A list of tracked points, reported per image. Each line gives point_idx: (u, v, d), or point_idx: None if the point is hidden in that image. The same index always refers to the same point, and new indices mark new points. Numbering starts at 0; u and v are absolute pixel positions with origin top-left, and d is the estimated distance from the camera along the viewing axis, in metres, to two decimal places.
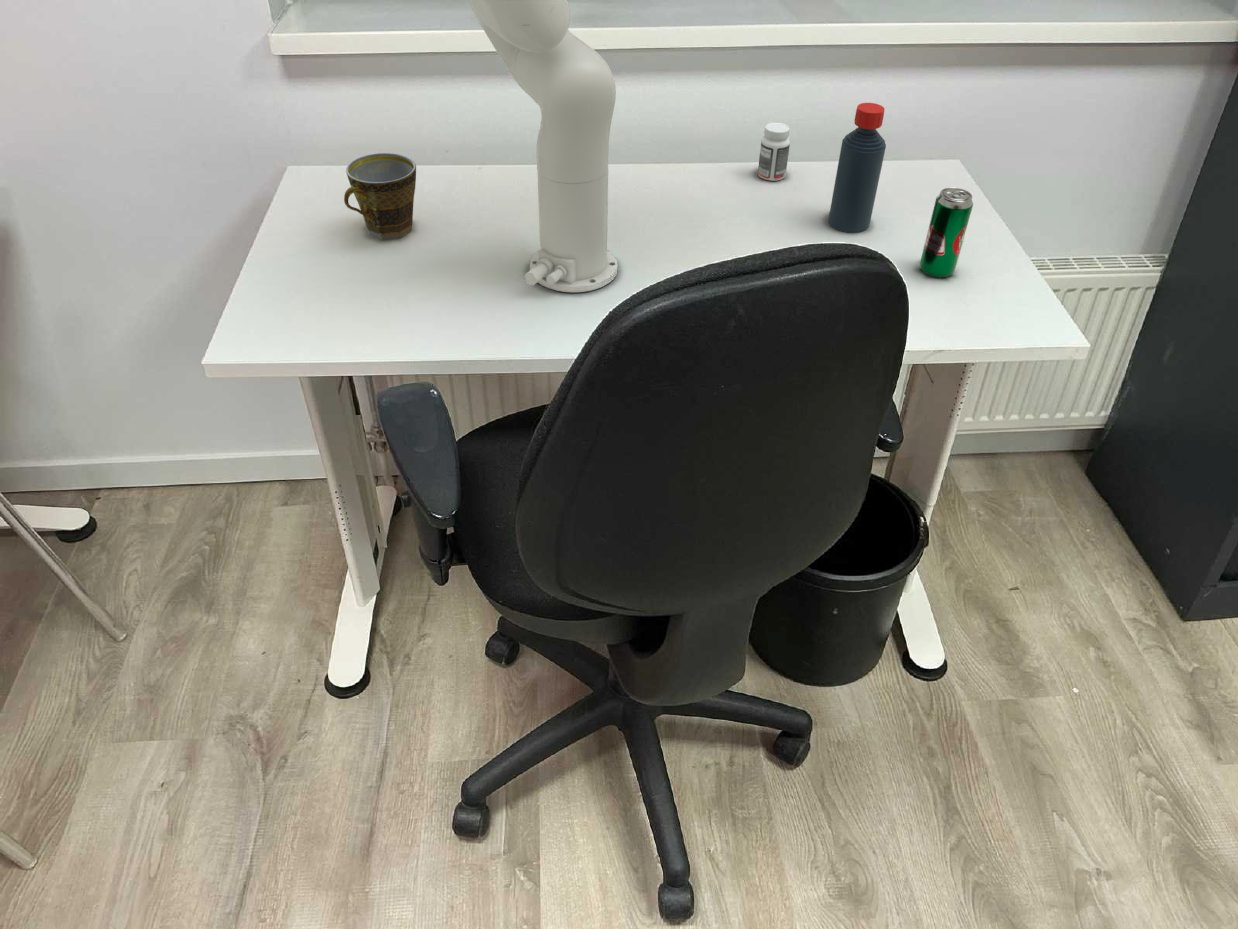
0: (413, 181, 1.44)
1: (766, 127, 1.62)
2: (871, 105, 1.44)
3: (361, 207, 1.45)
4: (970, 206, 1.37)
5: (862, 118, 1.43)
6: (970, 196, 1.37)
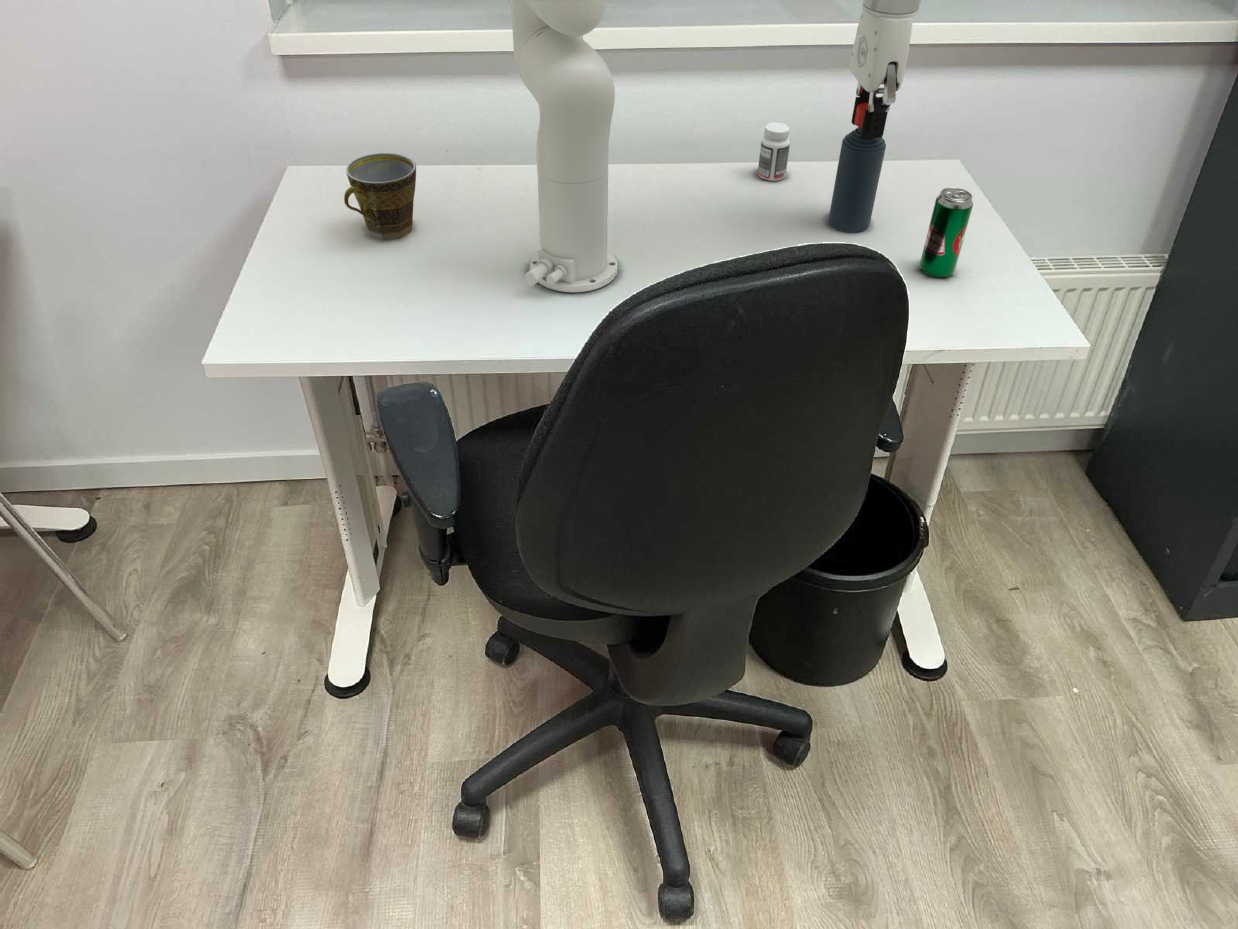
0: (413, 181, 1.44)
1: (766, 127, 1.62)
2: None
3: (361, 207, 1.45)
4: (970, 206, 1.37)
5: (862, 118, 1.43)
6: (970, 196, 1.37)
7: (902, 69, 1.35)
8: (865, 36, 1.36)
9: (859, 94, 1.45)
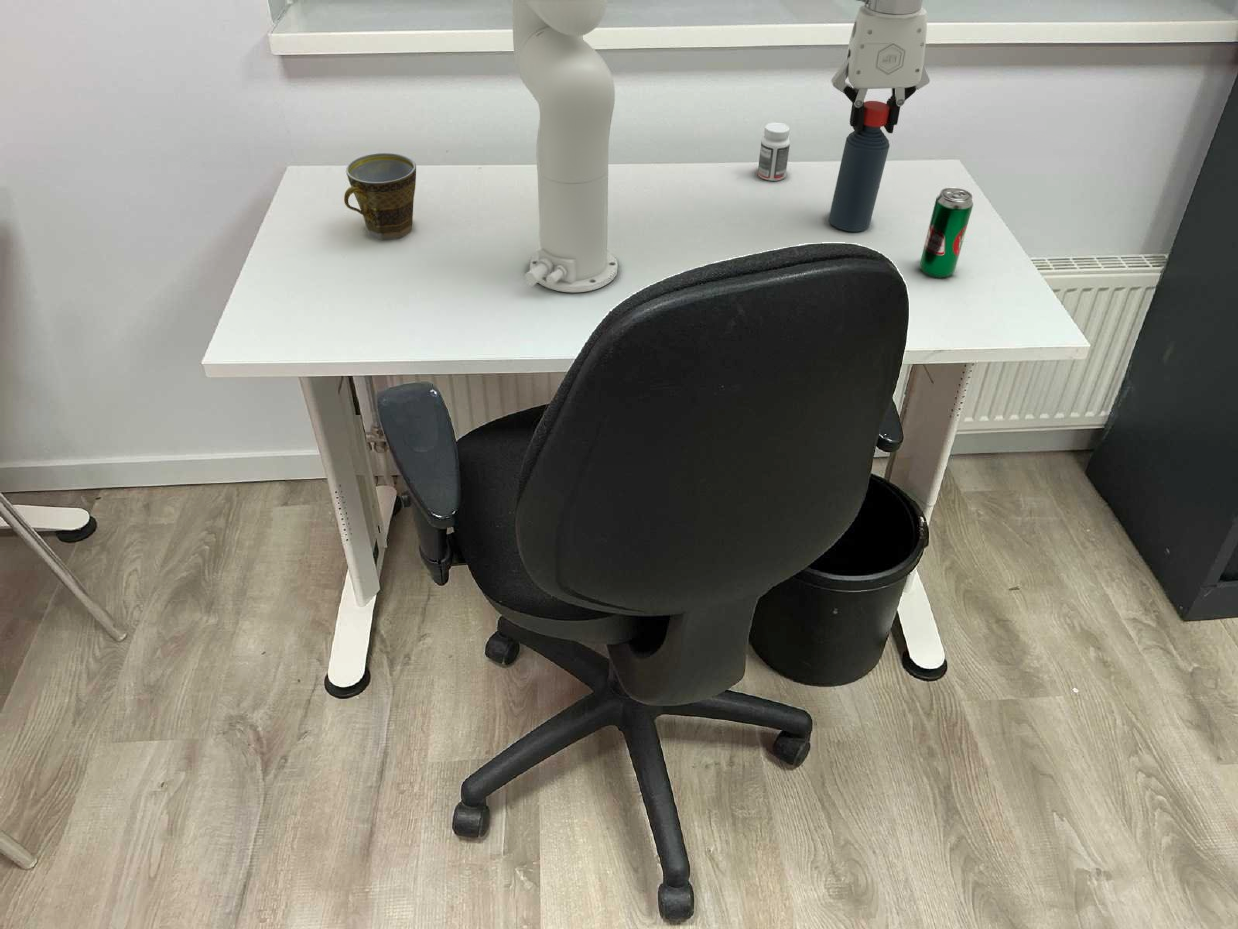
0: (413, 181, 1.44)
1: (766, 127, 1.62)
2: (870, 104, 1.44)
3: (361, 207, 1.45)
4: (970, 206, 1.37)
5: (886, 116, 1.43)
6: (970, 196, 1.37)
7: None
8: (895, 42, 1.35)
9: (862, 104, 1.42)
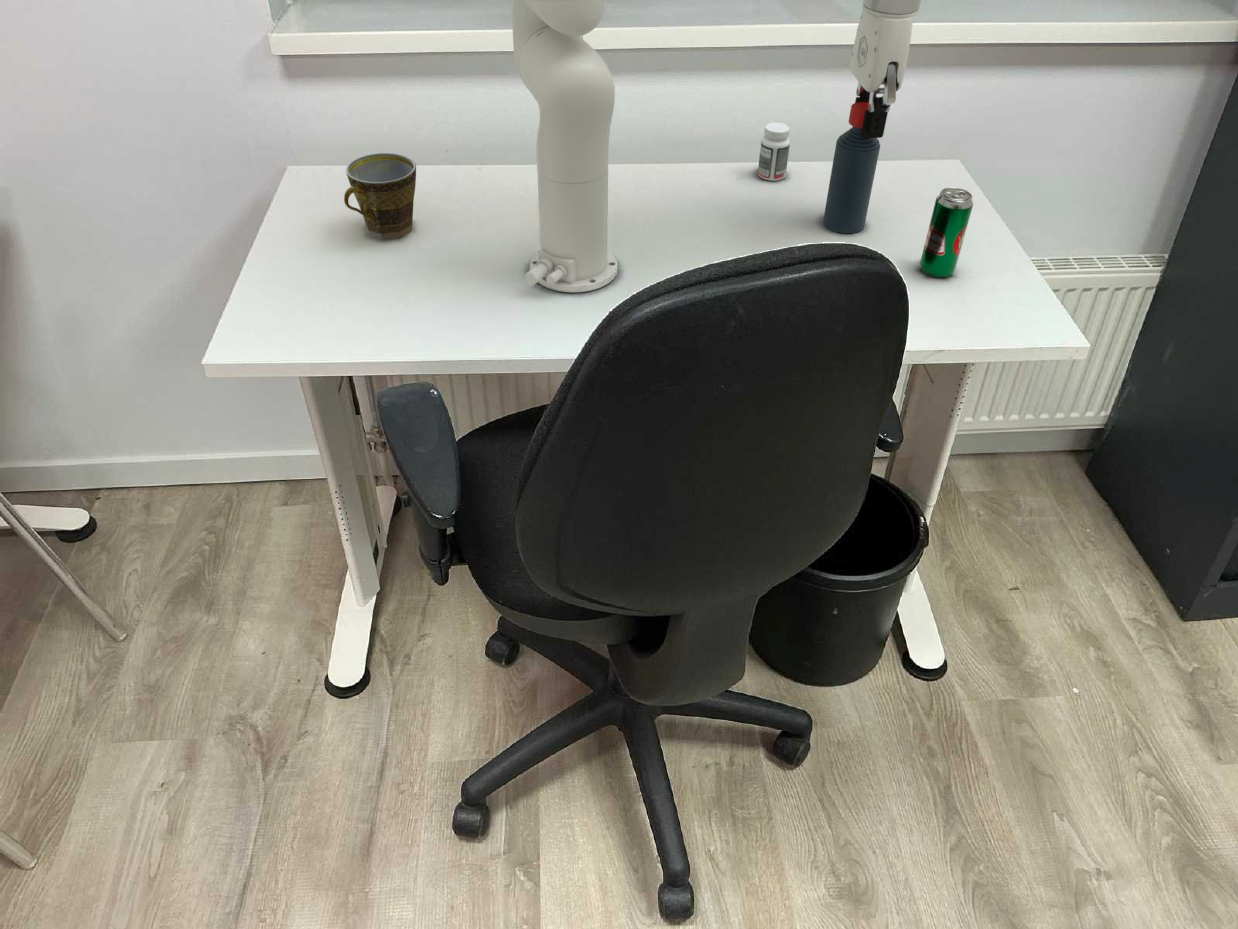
0: (413, 181, 1.44)
1: (766, 127, 1.62)
2: (858, 106, 1.44)
3: (361, 207, 1.45)
4: (970, 206, 1.37)
5: None
6: (970, 196, 1.37)
7: (902, 69, 1.35)
8: (865, 36, 1.36)
9: (859, 94, 1.45)
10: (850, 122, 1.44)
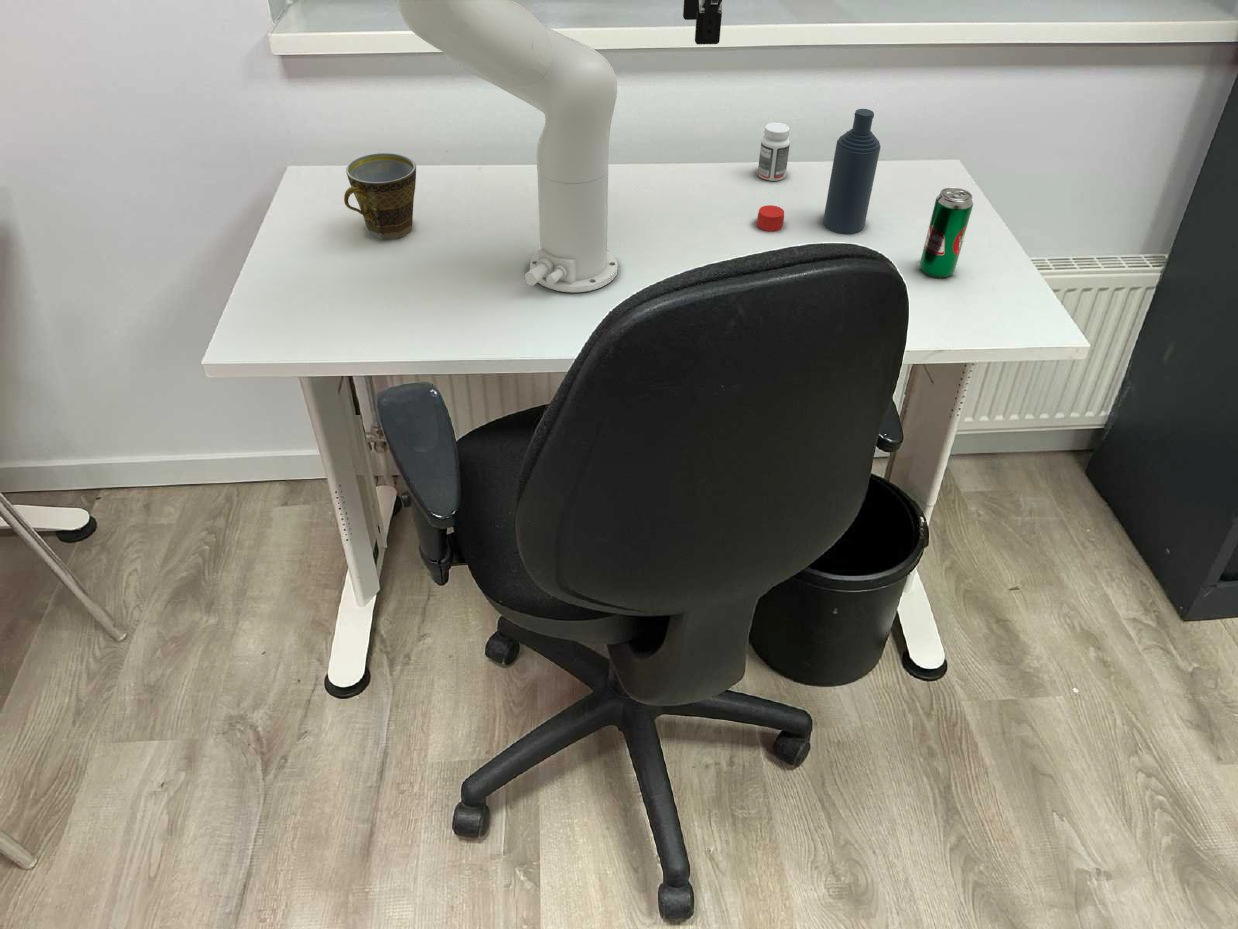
0: (413, 181, 1.44)
1: (766, 127, 1.62)
2: (769, 213, 1.52)
3: (361, 207, 1.45)
4: (970, 206, 1.37)
5: None
6: (970, 196, 1.37)
7: None
8: None
9: None
10: (772, 229, 1.53)
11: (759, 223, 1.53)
